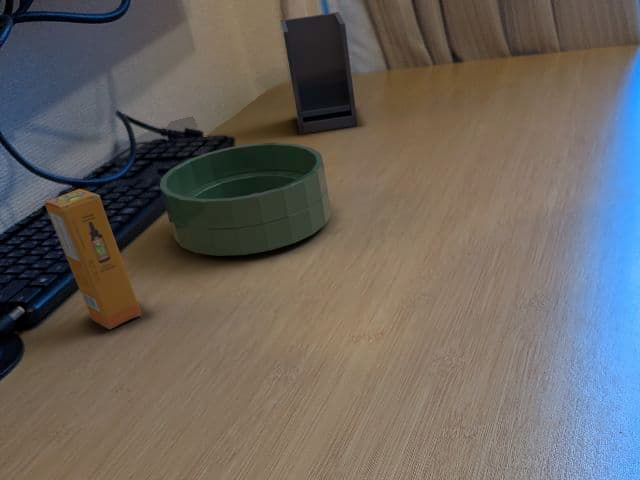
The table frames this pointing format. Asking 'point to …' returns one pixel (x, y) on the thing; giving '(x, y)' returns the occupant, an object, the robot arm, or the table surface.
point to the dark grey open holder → (320, 72)
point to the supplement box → (93, 257)
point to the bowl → (246, 198)
